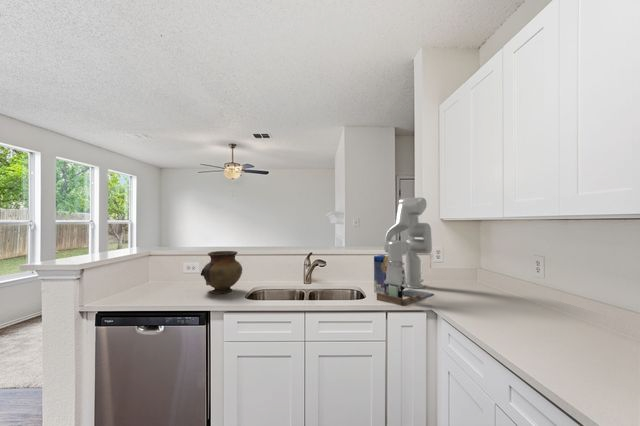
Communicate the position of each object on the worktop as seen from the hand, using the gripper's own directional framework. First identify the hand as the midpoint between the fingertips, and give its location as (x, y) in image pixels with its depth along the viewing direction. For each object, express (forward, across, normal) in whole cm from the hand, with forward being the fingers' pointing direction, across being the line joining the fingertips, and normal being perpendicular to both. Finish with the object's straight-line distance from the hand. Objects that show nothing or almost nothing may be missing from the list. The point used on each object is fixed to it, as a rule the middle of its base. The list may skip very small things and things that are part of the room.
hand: (395, 296), depth 167 cm
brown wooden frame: (+2, 0, -3) cm, 4 cm away
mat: (+2, 0, -20) cm, 20 cm away
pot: (+2, +85, +62) cm, 105 cm away
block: (+2, 0, 0) cm, 2 cm away
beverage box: (+2, +18, -13) cm, 23 cm away
